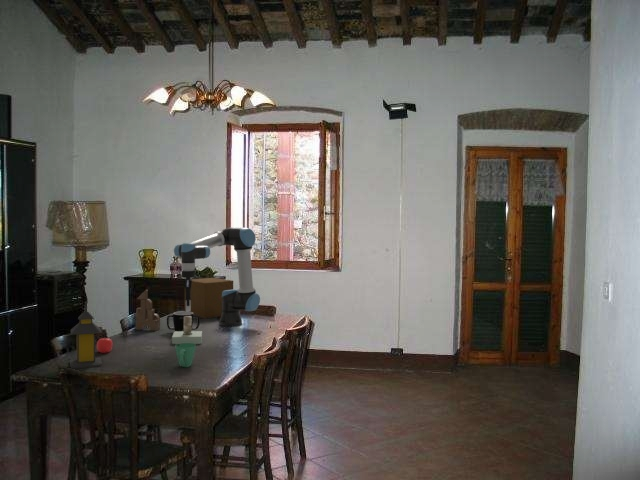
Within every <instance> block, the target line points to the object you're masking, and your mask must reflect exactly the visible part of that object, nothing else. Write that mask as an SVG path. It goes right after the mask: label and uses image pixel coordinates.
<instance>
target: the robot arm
mask: <svg viewBox="0 0 640 480" xmlns="http://www.w3.org/2000/svg"><path fill="white" fill-rule="evenodd" d="M255 234H256V233H255V232H254V231H253V230H252V229H251V228H249V227H227V228H223V229H220V230H218V231H215V232H214V233H213V234H211V235H208V236H205V237H201V238H200V239H196V240H194V241H190V242H183V243H182V244H176V245H175V246H174V249H173V254H174V255H175V257H177V258H181V264H180V267H181V278H185V279H184V289H185V288H186V298H185V297H184V301H185V300H186V312H189V311H191V299H192V298H191V283H192V280H191V278H195V277H196V271H195V270H196V260H198V259H207V258H210V256H211V248H215V247H222V246H231V247H232V246H233V250H234V251H235V252H236V259H237V273H238V283H239V284H238V285H239V288H235V289H234V288H233V290H225V291H223V292H222V314H221V317H219V321H218V325H219V326H223V327H239V326H242V325H243V320H242V317H241V313H240V311H245V312H253V311H256V310H257V309H258V307H259V306H260V302H261V298H260V295H259V294H258V293H257V291H256V288H255V287H254V282H253V272H252V268H253V267H252V258H251V251H252V250H253V246H254V245H255V243H256V235H255Z"/></svg>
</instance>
